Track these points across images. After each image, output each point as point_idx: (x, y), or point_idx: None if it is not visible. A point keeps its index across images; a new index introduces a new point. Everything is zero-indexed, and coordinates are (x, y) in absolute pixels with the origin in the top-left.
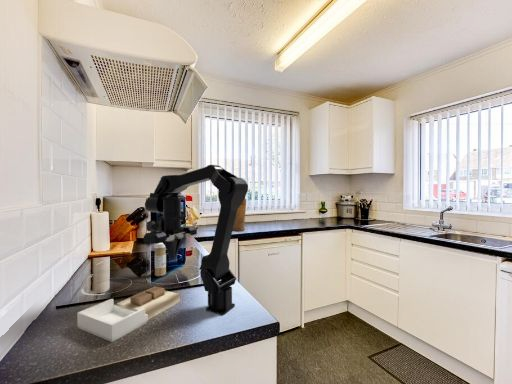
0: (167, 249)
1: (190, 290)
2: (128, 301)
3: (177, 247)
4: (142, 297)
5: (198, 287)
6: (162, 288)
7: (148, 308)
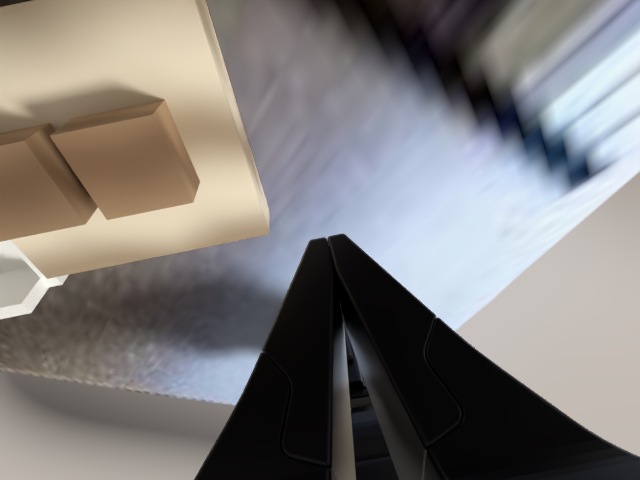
0: (260, 386)
1: (402, 132)
2: None
3: (395, 468)
4: (19, 226)
5: (459, 133)
6: (180, 195)
7: (68, 260)
